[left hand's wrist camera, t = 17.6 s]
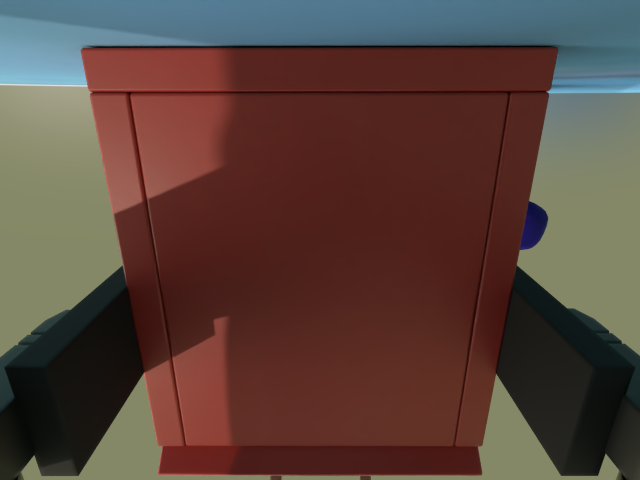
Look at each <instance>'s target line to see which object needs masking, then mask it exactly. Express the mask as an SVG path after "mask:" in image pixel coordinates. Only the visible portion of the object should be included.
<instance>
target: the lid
mask: <svg viewBox="0 0 640 480" xmlns="http://www.w3.org/2000/svg"><path fill="white" fill-rule="evenodd" d="M158 475H218V476H223V475H224V476H226V475H229V476H232V475H233V476H270V480H282V476H359V480H371V476H481V475H482V469H481V463H480V457H479V451H478V446H455V444H454V445H453V446H187V445H186V444H185V445H184V446H162V451H161V457H160V463H159V469H158Z"/></svg>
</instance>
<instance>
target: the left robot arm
mask: <svg viewBox="0 0 640 480" xmlns="http://www.w3.org/2000/svg"><path fill="white" fill-rule="evenodd" d="M143 373H144V372H143V367H142V362H141V357H140V351H139V346H138V341H137V336H136V331H135V326H134V320H133V315H132V310H131V305H130V300H129V294H128V289H127V284H126V279H125V274H124V269H123V266H121V267H120V268H119V269H118V270H117V271H116V272H114V273H113V274H112V275H111V276H110V277H109V278H107V279H106V280H105V281H104V282H103V283H102V284H101V285H99V286H98V287H97V288H96V289H95V290H94V291H92V292H91V293H90V294H89V295H88V296H87V297H85V298H84V299H83V300H82V301H81V302H79V303H78V304H77V305H76V306H75V307H74V308H72V309H71V310H65V311H63V312H61V313H59V314H57V315H55V316H53V317H51V318H49V319H47V320H46V321H44V322H43V323H42V324H41V325H39V326H38V327H37V328H36V329H35V330H33V331H32V332H31V335H27V336H26V337H25V338H24V339H22V340H21V341H20V342H19V343H18V345H15V346H14V347H13V348H11V349H10V350H9V351H8V352H6V353H5V354H4V355H3V356H1V357H0V480H24V479H23V476H22V473H21V471H22V470H23V468H24V467H25V466H26V465H27V463H28V462H29V461H30V460H31V458H32V457H33V456H34V455H35V458H36V461H37V464H38V467H39V469H40V472H41V475H42V476H79V474H80V472H81V471H82V469H83V468H84V466H85V465H86V463H87V461H88V460H89V458H90V457H91V455H92V454H93V452H94V450H95V449H96V447H97V446H98V444H99V443H100V441H101V439H102V438H103V436H104V435H105V433H106V432H107V430H108V428H109V427H110V425H111V424H112V422H113V420H114V419H115V417H116V416H117V414H118V413H119V411H120V410H121V408H122V406H123V405H124V403H125V402H126V400H127V398H128V397H129V395H130V394H131V392H132V391H133V389H134V387H135V386H136V384H137V383H138V381H139V380H140V378H141V376H142V375H143ZM496 374H497V376H498V377H499V379H500V380H501V382H502V383H503V385H504V387H505V388H506V390H507V391H508V393H509V394H510V396H511V397H512V399H513V401H514V402H515V404H516V405H517V407H518V409H519V410H520V412H521V413H522V415H523V416H524V418H525V420H526V421H527V423H528V424H529V426H530V427H531V429H532V431H533V432H534V434H535V435H536V437H537V438H538V440H539V442H540V443H541V445H542V446H543V448H544V449H545V451H546V453H547V454H548V456H549V457H550V459H551V460H552V462H553V464H554V465H555V467H556V468H557V470H558V471H559V473H560V475H561V476H598V474H599V471H600V468H601V465H602V462H603V459H604V456H605V454H607V455H608V457H609V458H610V459H611V460H612V462H613V463H614V464H615V465H616V467H617V468H618V469H619V473H618V476H617V479H616V480H640V356H639V355H638V354H637V353H636V352H634V351H633V350H632V349H631V348H629V347H628V346H627V345H626V344H622V342H621V340H620V339H618V338H617V337H616V336H615V335H613V334H612V333H609V331H608V330H607V329H606V328H605V327H604V326H602V325H601V324H600V323H599V322H597V321H596V320H595V319H593V318H591V317H589V316H588V315H586V314H584V313H582V312H580V311H578V310H576V309H567V308H566V307H565V306H564V305H562V304H561V303H560V302H559V301H558V300H557V299H555V298H554V297H553V296H552V295H551V294H550V293H548V292H547V291H546V290H545V289H544V288H543V287H541V286H540V285H539V284H538V283H537V282H536V281H534V280H533V279H532V278H531V277H530V276H529V275H527V274H526V273H525V272H524V271H523V270H522V269H520V268H519V267H518V266H516V271H515V277H514V282H513V287H512V292H511V298H510V303H509V308H508V313H507V319H506V324H505V329H504V334H503V340H502V345H501V350H500V355H499V361H498V366H497V371H496Z"/></svg>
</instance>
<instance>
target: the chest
mask: <svg viewBox="0 0 640 480" xmlns="http://www.w3.org/2000/svg"><path fill="white" fill-rule="evenodd" d="M557 53H558V48H556V47H282V48H82V49H81V54H82V59H83V65H84V70H85V75H86V80H87V85H88V89H89V91H91V92H93V93H91V94H90V99H91V104H92V109H93V114H94V119H95V125H96V130H97V135H98V140H99V145H100V150H101V156H102V161H103V166H104V171H105V176H106V181H107V187H108V192H109V197H110V202H111V207H112V212H113V217H114V223H115V228H116V233H117V238H118V243H119V248H120V253H121V259H122V264H123V269H124V274H125V279H126V284H127V289H128V294H129V300H130V305H131V310H132V315H133V320H134V326H135V331H136V336H137V341H138V346H139V351H140V357H141V362H142V367H143V372H144V377H145V382H146V388H147V393H148V398H149V403H150V408H151V413H152V418H153V424H154V429H155V434H156V439H157V444H158V446H184V445H185V444H186V445H187V446H453V445H454V444H455V446H482V445H483V439H484V434H485V429H486V424H487V418H488V413H489V408H490V403H491V397H492V392H493V387H494V381H495V376H496V371H497V366H498V361H499V355H500V350H501V345H502V340H503V334H504V329H505V324H506V319H507V313H508V308H509V303H510V298H511V292H512V287H513V282H514V277H515V271H516V266H517V261H518V256H519V250H520V245H521V240H522V235H523V229H524V224H525V219H526V214H527V208H528V203H529V198H530V192H531V187H532V182H533V177H534V171H535V166H536V161H537V156H538V150H539V145H540V140H541V135H542V130H543V124H544V119H545V114H546V109H547V103H548V98H549V93H548V92H546V91H549V90H550V89H551V85H552V79H553V74H554V69H555V64H556V58H557Z"/></svg>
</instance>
